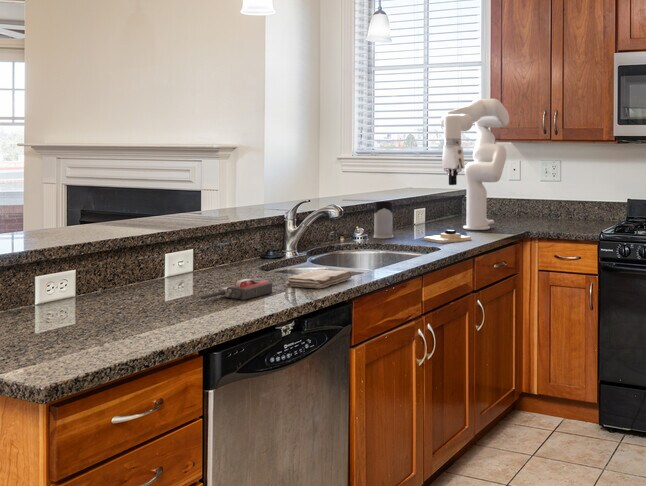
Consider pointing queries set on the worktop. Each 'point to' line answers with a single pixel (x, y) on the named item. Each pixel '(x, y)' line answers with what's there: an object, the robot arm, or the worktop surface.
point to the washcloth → (318, 278)
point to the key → (450, 231)
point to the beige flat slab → (447, 238)
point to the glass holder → (383, 220)
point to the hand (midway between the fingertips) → (452, 184)
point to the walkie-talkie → (244, 289)
